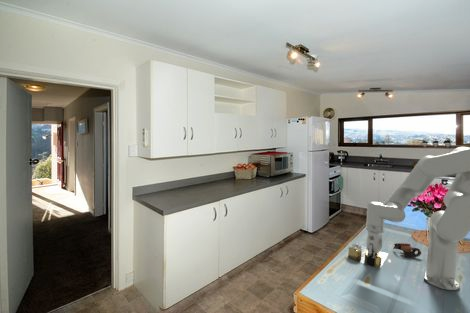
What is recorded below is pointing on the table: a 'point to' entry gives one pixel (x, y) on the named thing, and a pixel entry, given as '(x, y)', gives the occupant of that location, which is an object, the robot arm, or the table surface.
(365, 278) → the table surface
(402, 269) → the table surface
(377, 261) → the planet gear
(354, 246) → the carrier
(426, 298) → the table surface
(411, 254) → the brown clawed ring bracket
